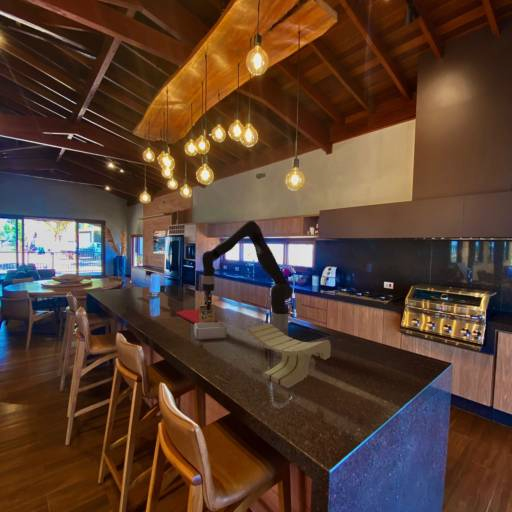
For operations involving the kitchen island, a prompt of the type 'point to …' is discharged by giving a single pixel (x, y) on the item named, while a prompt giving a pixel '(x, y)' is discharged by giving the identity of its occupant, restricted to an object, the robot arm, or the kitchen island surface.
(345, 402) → the kitchen island surface
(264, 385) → the kitchen island surface
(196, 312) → the red flat case
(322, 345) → the slatted curved stool
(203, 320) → the candy box
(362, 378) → the kitchen island surface
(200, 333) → the box
